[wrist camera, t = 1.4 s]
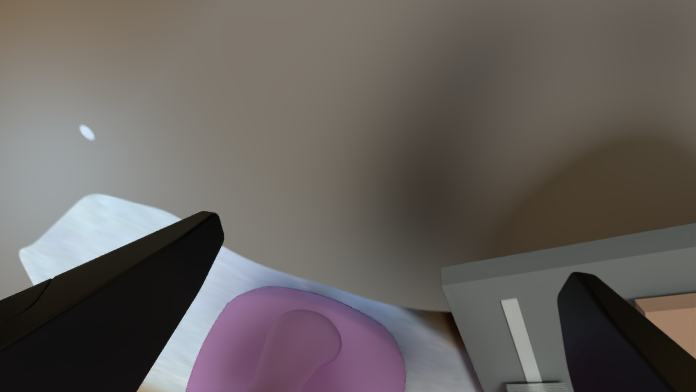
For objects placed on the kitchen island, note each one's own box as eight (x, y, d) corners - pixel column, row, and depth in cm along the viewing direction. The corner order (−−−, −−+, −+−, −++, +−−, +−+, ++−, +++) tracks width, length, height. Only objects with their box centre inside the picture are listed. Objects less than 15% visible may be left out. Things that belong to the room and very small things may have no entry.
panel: (977, 386, 19) (1036, 425, 17) (490, 394, 29) (494, 419, 27) (1065, 157, 14) (1162, 178, 12) (440, 267, 24) (441, 287, 22)
